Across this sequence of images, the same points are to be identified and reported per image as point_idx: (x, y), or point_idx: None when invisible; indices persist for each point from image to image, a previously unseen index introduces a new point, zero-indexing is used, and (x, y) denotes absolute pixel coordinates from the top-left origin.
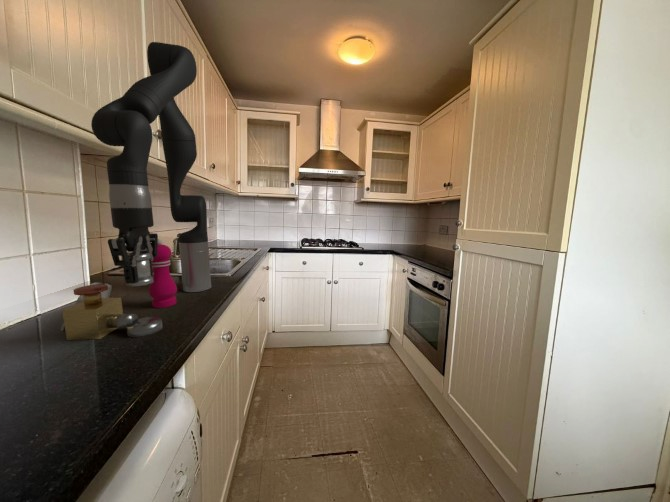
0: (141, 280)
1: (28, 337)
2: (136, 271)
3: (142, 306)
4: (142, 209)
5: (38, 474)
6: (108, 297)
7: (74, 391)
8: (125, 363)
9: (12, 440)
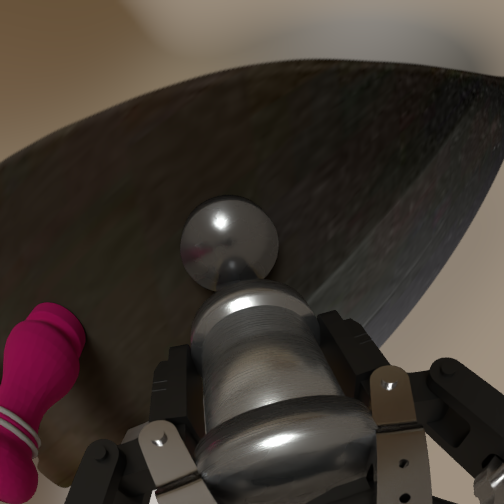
0: (303, 309)
1: None
2: (345, 350)
3: (93, 370)
4: None
5: None
6: (125, 441)
7: (449, 174)
8: (387, 151)
9: (497, 167)
